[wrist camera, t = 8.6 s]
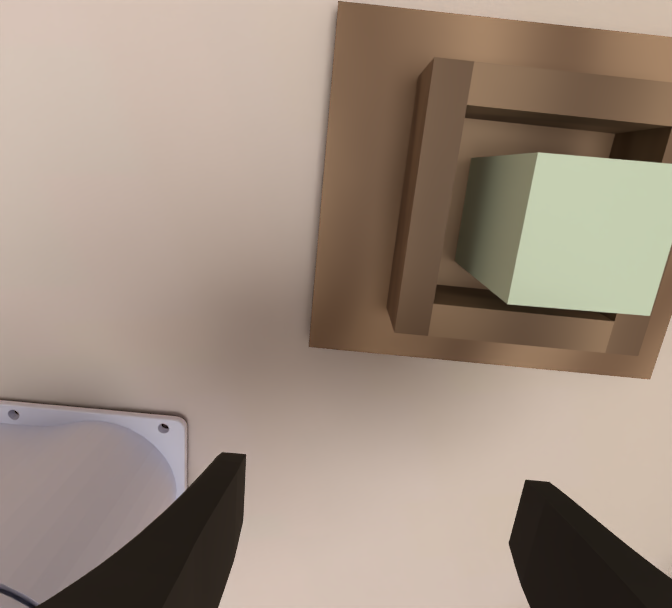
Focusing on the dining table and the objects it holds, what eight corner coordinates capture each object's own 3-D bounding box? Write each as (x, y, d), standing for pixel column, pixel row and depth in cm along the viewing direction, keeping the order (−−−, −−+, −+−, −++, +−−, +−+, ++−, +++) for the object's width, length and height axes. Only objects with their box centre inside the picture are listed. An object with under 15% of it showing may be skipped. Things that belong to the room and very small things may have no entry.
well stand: (310, 338, 20) (303, 377, 16) (338, 10, 16) (337, -37, 13) (635, 369, 20) (703, 415, 17) (737, 53, 17) (855, 19, 13)
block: (454, 261, 18) (507, 304, 12) (471, 157, 17) (537, 152, 11) (552, 269, 18) (650, 315, 12) (575, 166, 17) (694, 166, 11)
